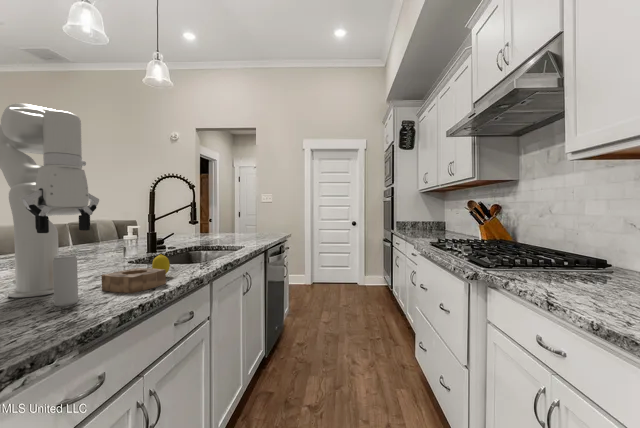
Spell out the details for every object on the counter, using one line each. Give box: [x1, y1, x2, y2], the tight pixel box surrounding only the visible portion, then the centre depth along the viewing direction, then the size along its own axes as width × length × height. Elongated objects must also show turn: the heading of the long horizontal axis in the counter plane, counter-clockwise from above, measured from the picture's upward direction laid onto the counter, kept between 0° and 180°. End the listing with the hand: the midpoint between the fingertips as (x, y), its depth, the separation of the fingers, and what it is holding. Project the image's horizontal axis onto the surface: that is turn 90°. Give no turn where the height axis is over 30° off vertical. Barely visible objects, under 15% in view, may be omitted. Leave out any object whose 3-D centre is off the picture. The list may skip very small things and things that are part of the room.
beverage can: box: [53, 254, 79, 307], centre depth 81 cm, size 5×5×12 cm
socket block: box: [101, 267, 167, 294], centre depth 99 cm, size 13×13×4 cm
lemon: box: [151, 253, 171, 274], centre depth 113 cm, size 6×6×8 cm
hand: (64, 231), depth 81 cm, fingers open, 9 cm apart
